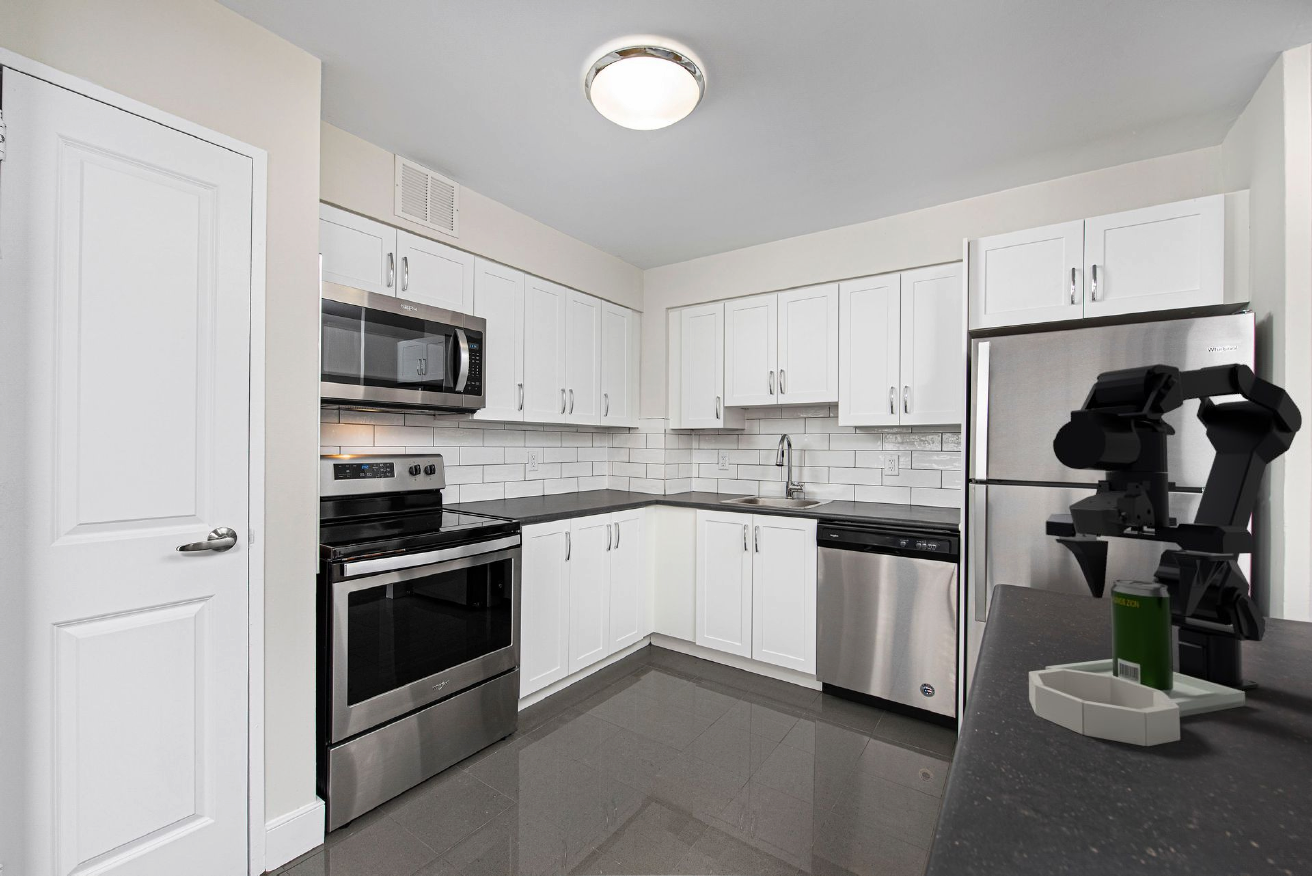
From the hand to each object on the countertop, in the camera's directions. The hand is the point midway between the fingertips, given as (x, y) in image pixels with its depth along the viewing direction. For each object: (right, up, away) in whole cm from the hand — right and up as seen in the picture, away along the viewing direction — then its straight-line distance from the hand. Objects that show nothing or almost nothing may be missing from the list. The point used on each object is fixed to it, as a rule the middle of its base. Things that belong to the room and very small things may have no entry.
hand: (1139, 606), depth 68 cm
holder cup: (-11, -9, -8) cm, 16 cm away
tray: (0, -10, 0) cm, 10 cm away
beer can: (0, -10, -1) cm, 10 cm away
